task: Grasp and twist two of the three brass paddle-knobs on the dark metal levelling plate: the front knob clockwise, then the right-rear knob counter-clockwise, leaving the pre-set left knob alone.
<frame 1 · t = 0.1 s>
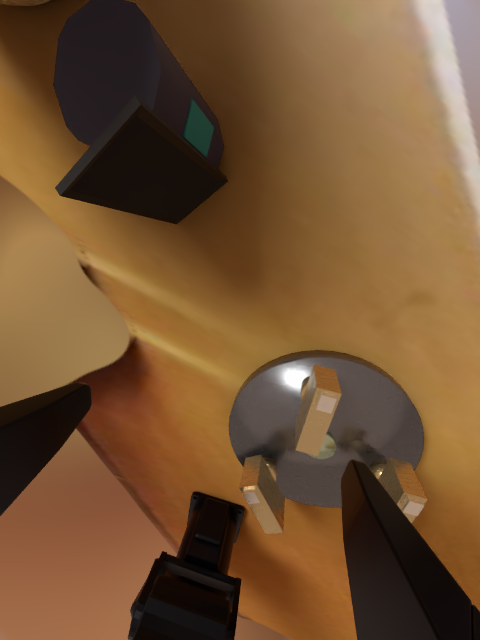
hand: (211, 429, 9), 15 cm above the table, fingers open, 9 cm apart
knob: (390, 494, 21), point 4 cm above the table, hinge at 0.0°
speaker: (181, 156, 20), on the table
levelling plate: (317, 429, 25), on the table
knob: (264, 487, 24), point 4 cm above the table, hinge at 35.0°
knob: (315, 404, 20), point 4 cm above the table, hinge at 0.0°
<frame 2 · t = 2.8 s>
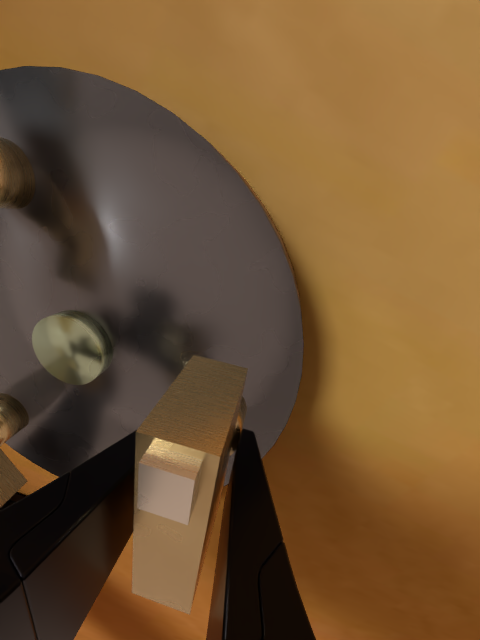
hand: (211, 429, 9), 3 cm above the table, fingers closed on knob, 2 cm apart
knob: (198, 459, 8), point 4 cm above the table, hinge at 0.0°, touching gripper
levelling plate: (105, 329, 12), on the table
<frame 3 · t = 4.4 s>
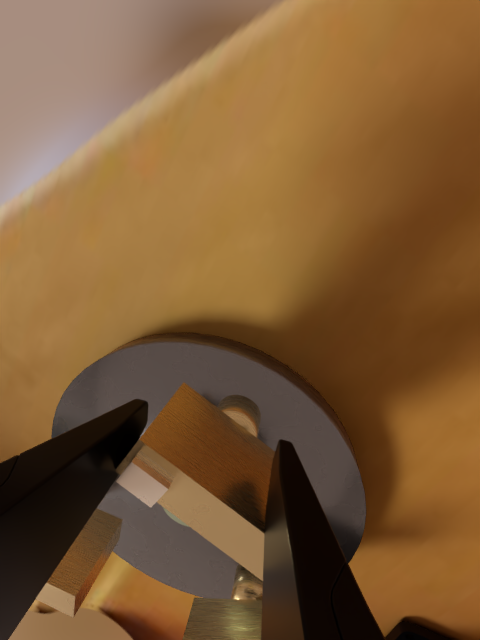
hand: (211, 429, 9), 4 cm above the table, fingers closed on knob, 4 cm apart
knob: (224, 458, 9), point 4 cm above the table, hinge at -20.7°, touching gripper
levelling plate: (201, 470, 15), on the table
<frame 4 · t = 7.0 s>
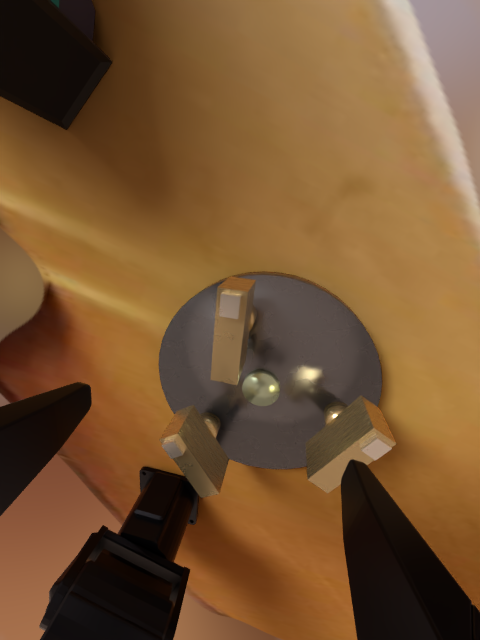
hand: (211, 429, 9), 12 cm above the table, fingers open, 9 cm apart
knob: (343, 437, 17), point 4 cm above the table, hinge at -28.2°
speaker: (58, 40, 17), on the table
levelling plate: (263, 374, 22), on the table
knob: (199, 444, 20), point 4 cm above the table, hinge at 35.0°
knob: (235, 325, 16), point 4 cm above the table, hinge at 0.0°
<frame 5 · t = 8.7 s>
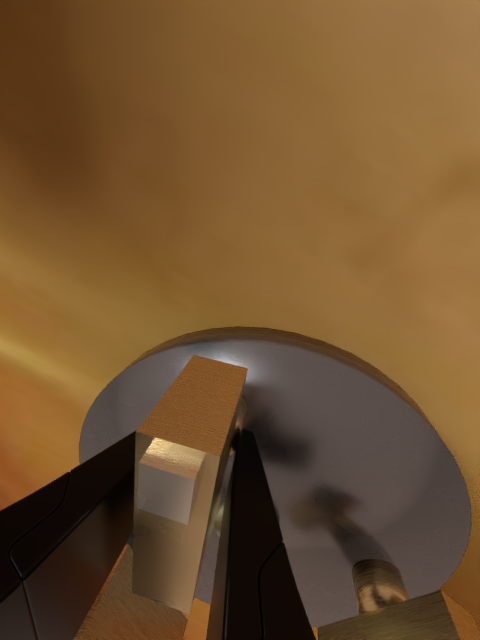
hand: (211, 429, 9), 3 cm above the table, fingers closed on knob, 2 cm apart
levelling plate: (253, 484, 13), on the table
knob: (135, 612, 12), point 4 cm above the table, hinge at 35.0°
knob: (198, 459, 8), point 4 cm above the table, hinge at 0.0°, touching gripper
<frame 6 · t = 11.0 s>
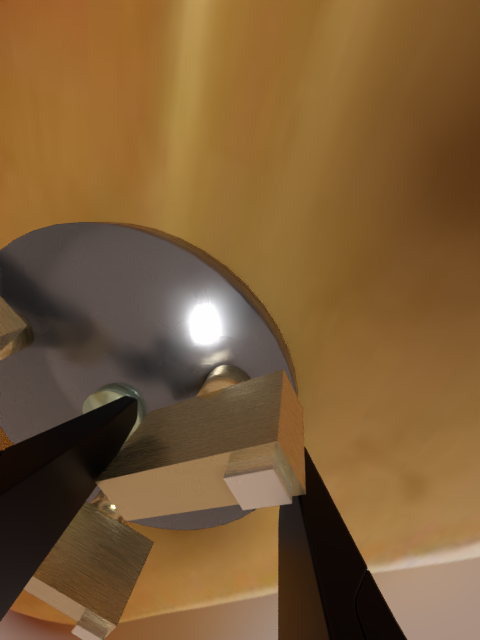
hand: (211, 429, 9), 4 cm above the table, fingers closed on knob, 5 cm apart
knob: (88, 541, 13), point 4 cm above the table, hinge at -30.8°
levelling plate: (136, 390, 14), on the table
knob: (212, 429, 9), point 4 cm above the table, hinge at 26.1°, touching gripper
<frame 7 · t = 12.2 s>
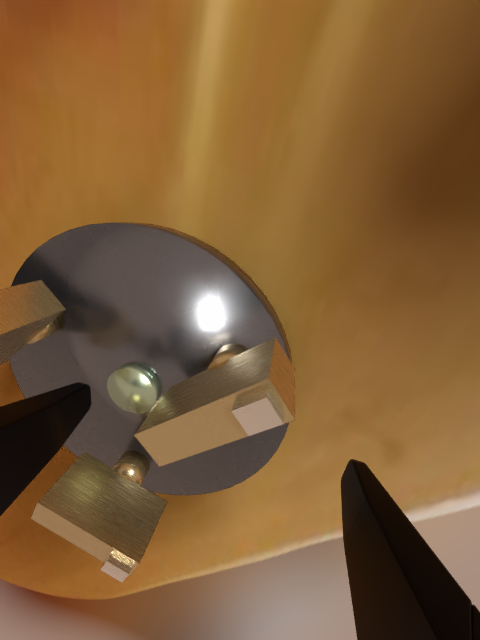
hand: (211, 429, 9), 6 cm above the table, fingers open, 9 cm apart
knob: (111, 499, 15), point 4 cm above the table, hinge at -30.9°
levelling plate: (151, 370, 16), on the table
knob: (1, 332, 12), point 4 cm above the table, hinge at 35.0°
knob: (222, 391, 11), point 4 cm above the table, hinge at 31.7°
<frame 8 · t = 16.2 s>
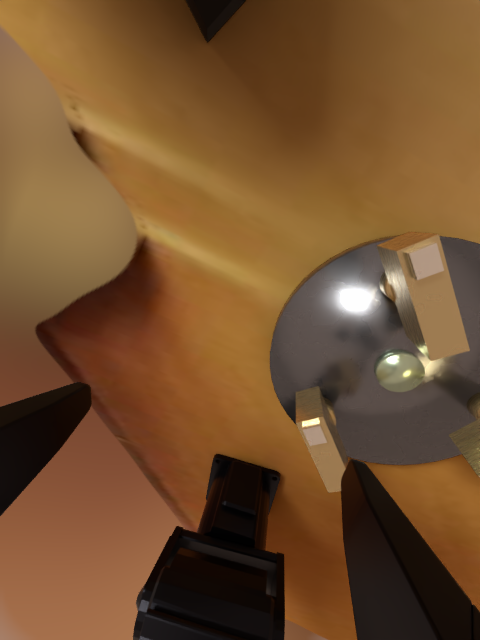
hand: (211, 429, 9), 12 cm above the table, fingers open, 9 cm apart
levelling plate: (389, 357, 19), on the table
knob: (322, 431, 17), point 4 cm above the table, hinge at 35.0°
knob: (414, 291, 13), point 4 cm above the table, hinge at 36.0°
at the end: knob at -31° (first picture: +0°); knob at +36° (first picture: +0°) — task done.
